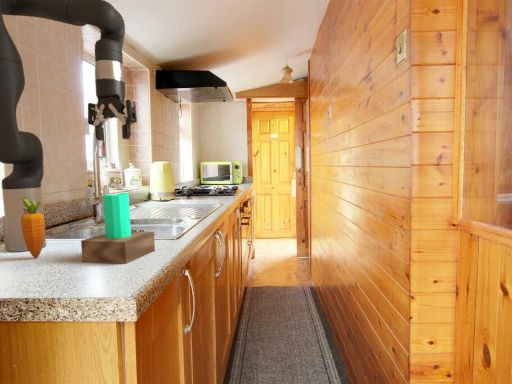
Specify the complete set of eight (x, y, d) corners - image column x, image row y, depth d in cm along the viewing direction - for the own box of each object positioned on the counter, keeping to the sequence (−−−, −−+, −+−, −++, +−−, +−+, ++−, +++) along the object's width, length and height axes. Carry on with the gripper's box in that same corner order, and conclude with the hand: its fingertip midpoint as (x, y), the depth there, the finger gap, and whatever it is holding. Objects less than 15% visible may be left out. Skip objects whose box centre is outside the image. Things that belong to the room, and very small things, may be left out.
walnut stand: (82, 261, 82) (81, 240, 82) (115, 249, 94) (114, 231, 93) (126, 263, 79) (124, 241, 79) (154, 250, 90) (153, 231, 90)
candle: (134, 233, 89) (131, 186, 88) (127, 237, 83) (124, 188, 82) (110, 234, 89) (107, 187, 88) (101, 239, 83) (98, 189, 82)
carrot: (52, 256, 89) (47, 197, 88) (34, 261, 84) (28, 199, 83) (37, 255, 90) (33, 197, 89) (19, 260, 86) (14, 199, 84)
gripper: (140, 81, 97) (143, 139, 98) (98, 85, 101) (101, 141, 102) (123, 74, 90) (126, 137, 91) (78, 79, 94) (82, 140, 95)
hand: (113, 139), depth 97 cm, fingers open, 8 cm apart
